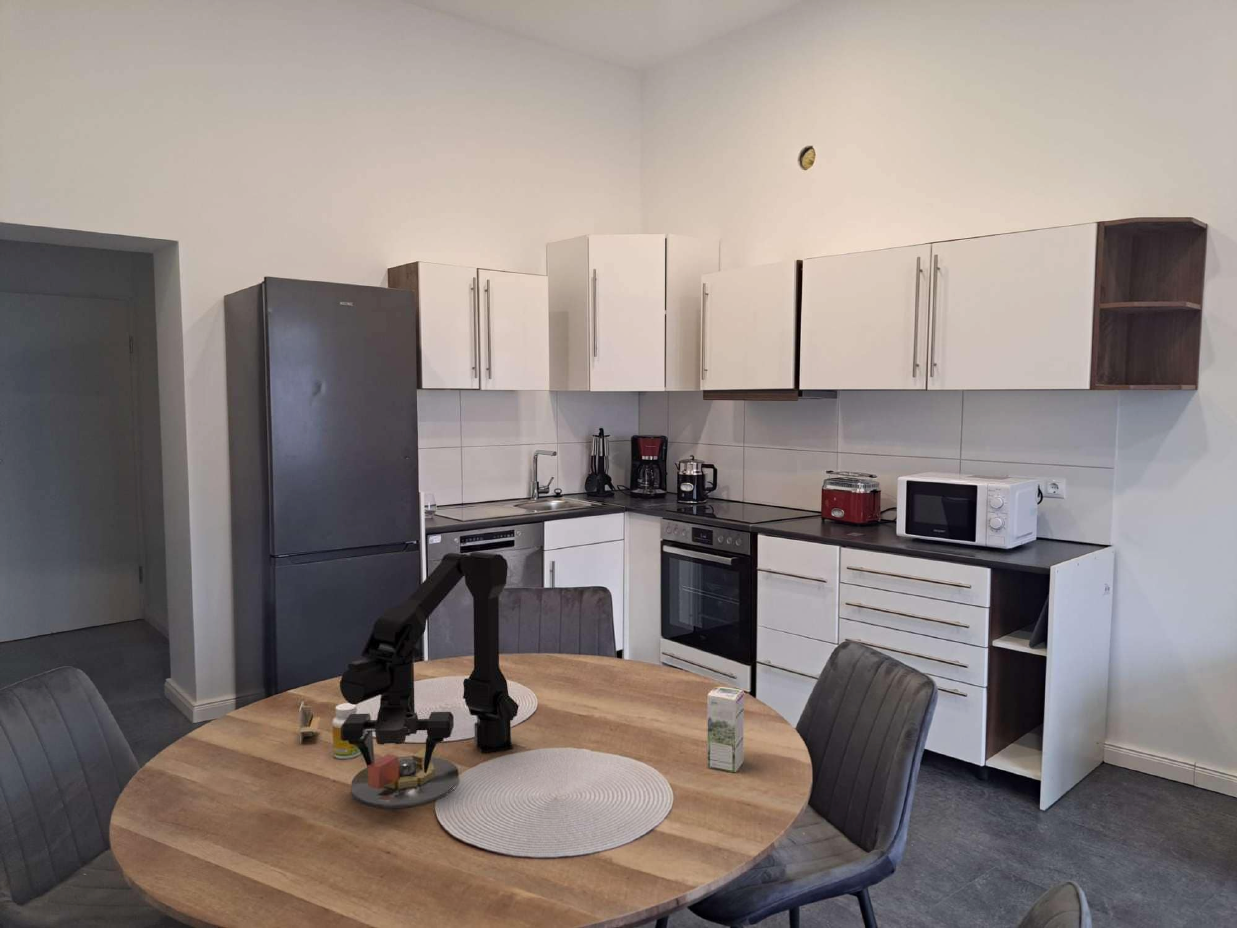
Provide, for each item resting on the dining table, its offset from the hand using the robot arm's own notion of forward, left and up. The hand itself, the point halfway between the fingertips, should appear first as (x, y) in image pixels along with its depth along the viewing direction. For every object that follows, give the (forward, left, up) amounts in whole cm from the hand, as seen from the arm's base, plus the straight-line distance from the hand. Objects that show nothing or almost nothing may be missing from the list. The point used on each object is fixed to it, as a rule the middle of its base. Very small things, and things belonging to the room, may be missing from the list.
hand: (399, 772), depth 150 cm
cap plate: (-2, -4, -4) cm, 6 cm away
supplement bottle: (+7, -22, -5) cm, 24 cm away
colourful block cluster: (-1, -4, -3) cm, 5 cm away
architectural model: (+15, -34, -5) cm, 38 cm away
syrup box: (-60, +11, -4) cm, 61 cm away
